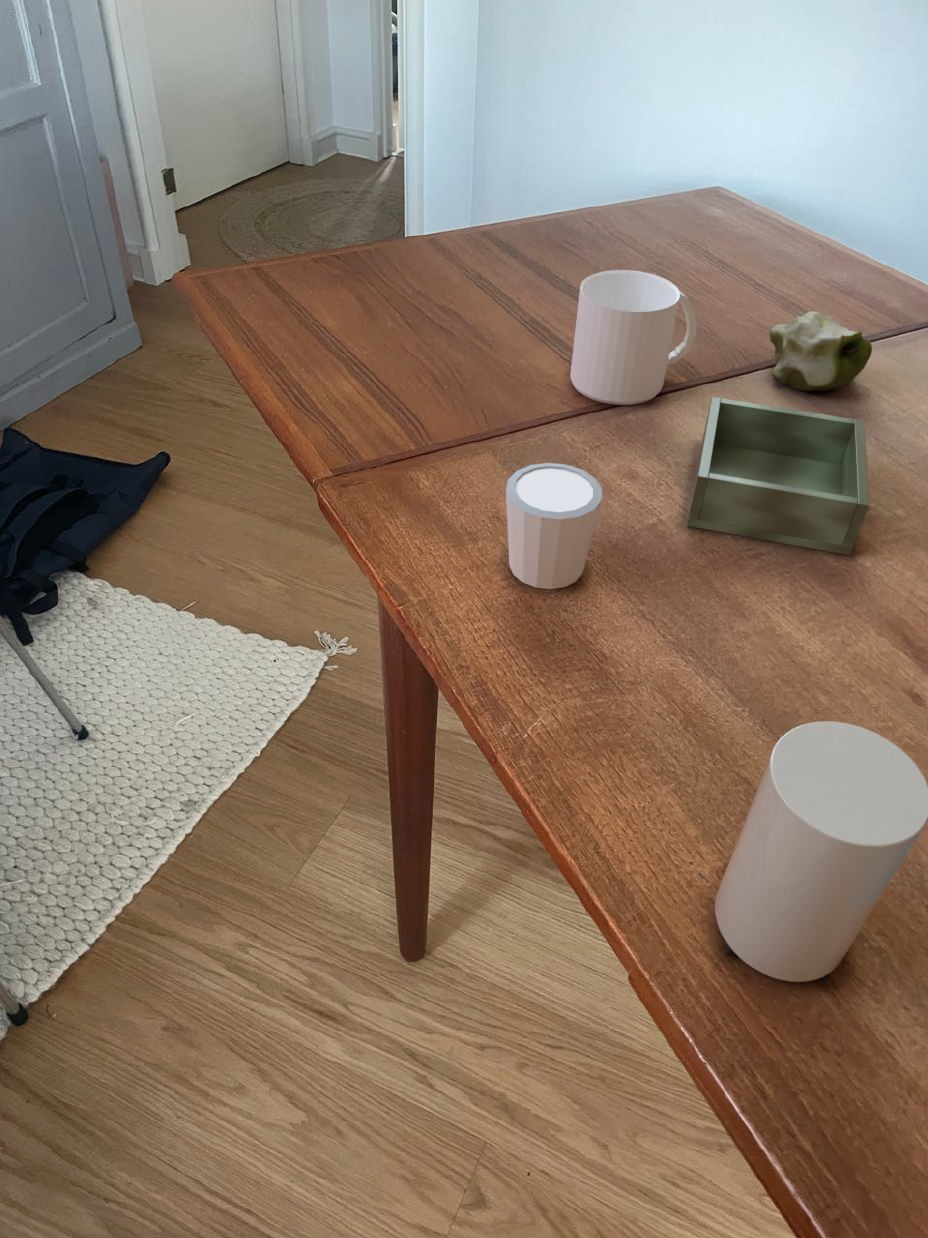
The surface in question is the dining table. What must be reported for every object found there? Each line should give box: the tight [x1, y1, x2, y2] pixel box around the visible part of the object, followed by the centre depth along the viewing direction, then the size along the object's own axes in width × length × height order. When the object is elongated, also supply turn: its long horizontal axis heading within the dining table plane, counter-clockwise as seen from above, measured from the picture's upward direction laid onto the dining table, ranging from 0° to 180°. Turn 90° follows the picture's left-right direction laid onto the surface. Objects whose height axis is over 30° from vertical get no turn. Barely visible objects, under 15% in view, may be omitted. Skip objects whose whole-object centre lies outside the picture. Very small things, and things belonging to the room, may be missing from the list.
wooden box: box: [686, 396, 870, 556], centre depth 76 cm, size 13×13×5 cm
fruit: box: [769, 310, 873, 392], centre depth 91 cm, size 9×9×8 cm
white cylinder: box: [714, 720, 928, 983], centre depth 45 cm, size 7×7×12 cm
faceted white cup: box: [505, 462, 603, 590], centre depth 68 cm, size 7×7×7 cm
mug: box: [570, 269, 697, 406], centre depth 88 cm, size 12×9×9 cm
